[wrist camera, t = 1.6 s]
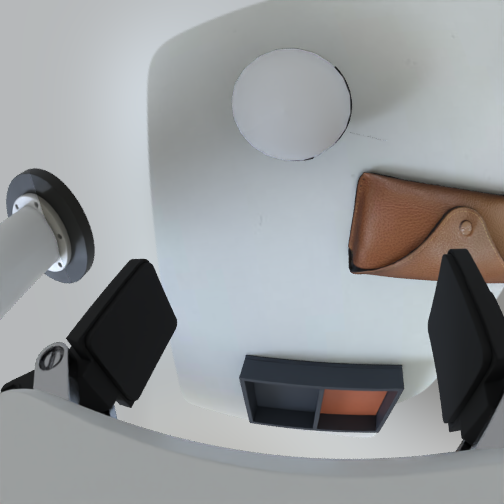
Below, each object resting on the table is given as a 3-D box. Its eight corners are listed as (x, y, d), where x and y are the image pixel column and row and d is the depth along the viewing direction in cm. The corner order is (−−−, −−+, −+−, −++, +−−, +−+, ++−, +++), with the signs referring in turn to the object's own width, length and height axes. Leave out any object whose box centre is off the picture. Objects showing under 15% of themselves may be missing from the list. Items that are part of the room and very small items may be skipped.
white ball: (231, 119, 22) (194, 141, 16) (273, 35, 18) (250, 21, 12) (345, 181, 23) (350, 225, 17) (395, 104, 19) (424, 119, 13)
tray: (254, 403, 45) (249, 422, 42) (246, 354, 38) (239, 377, 35) (378, 412, 40) (378, 432, 37) (401, 364, 33) (404, 388, 30)
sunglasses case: (536, 193, 18) (556, 261, 15) (505, 231, 24) (516, 292, 21) (354, 169, 22) (356, 248, 19) (347, 218, 28) (346, 286, 25)
